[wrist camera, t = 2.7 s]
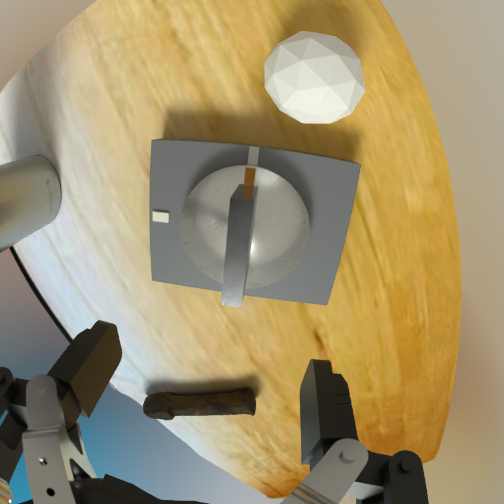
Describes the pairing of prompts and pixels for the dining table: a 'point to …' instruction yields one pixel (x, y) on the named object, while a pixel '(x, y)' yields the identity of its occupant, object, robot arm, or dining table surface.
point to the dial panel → (278, 160)
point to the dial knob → (245, 229)
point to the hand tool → (199, 404)
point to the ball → (314, 77)
